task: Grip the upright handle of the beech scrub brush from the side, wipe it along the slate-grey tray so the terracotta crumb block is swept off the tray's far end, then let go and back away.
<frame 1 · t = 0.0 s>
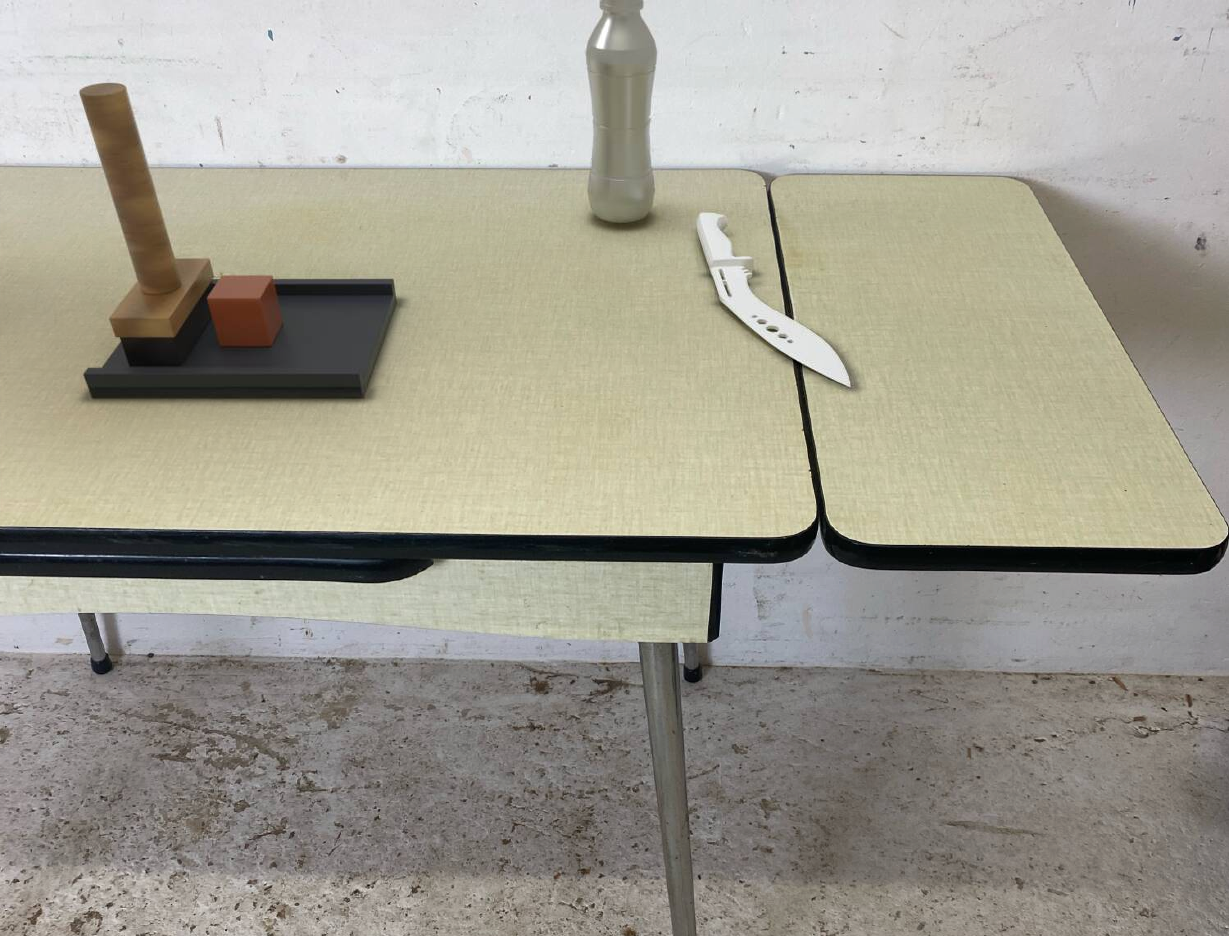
brush: (175, 334, 84), point 1 cm above the table, touching tray
crumb block: (252, 334, 84), point 1 cm above the table, touching tray
tray: (254, 346, 85), on the table
plastic bottle: (621, 219, 104), on the table
knife: (763, 302, 91), on the table
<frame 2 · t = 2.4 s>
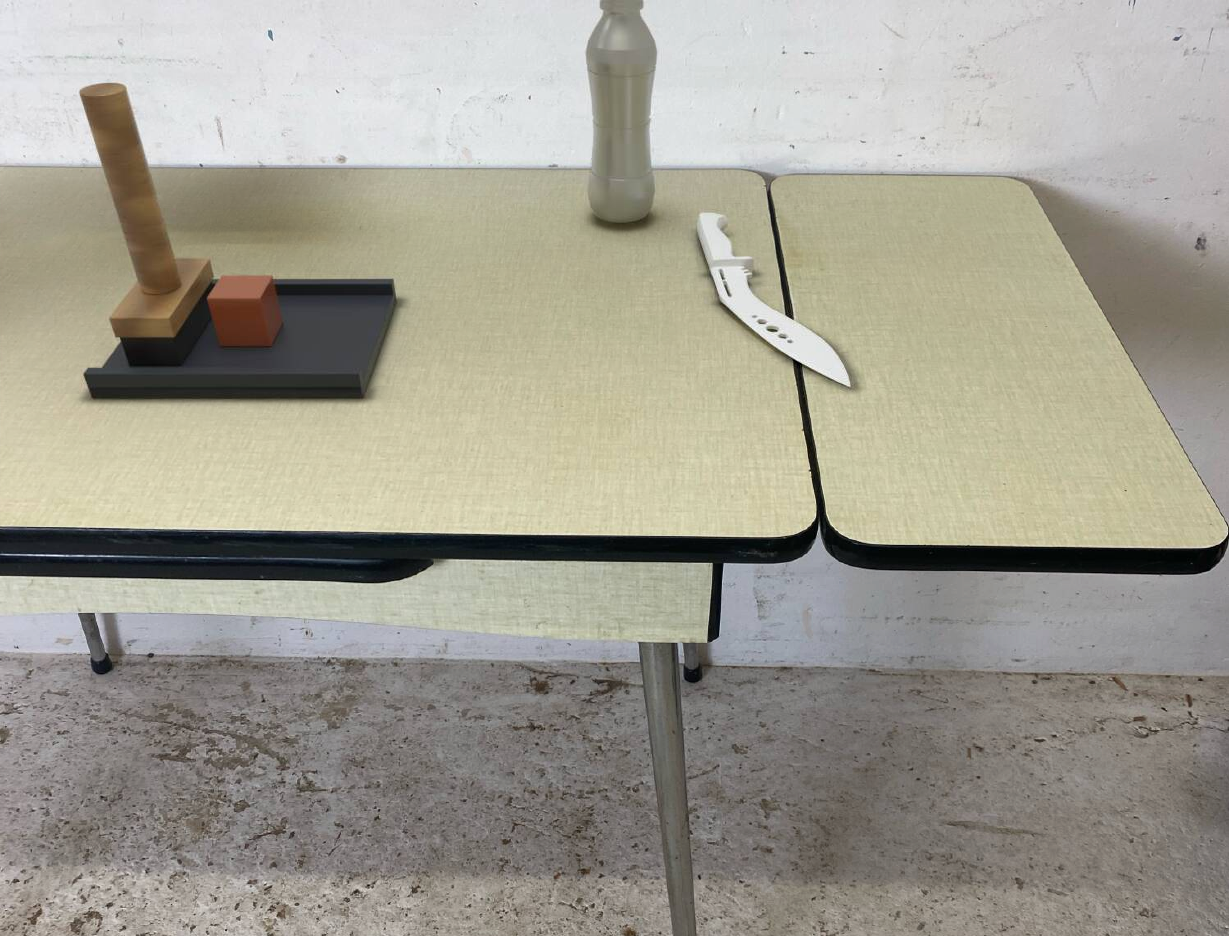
nothing on the table moved.
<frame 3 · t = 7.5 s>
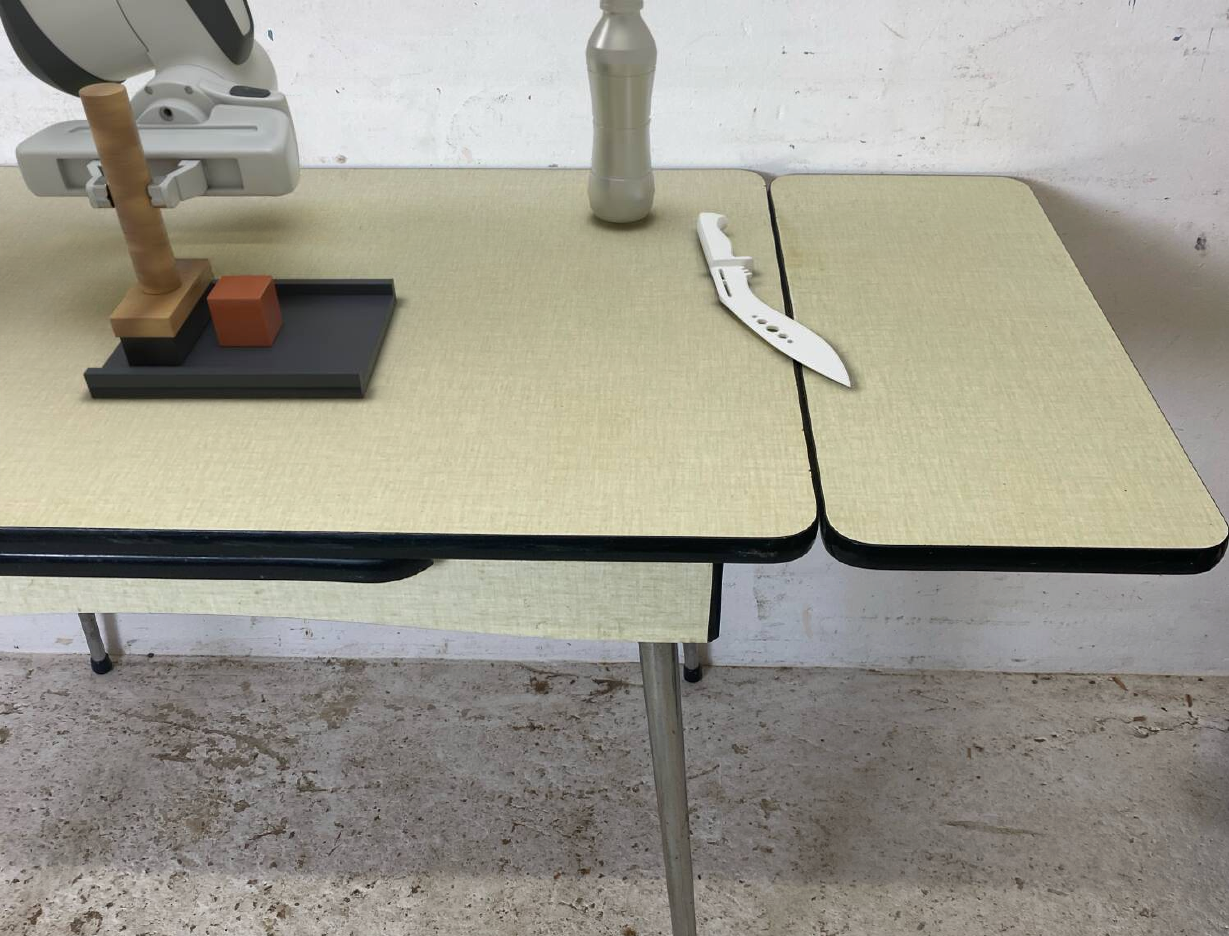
hand: (129, 198, 76), 12 cm above the table, tool horizontal, fingers closed on brush, 3 cm apart
brush: (175, 334, 84), point 1 cm above the table, touching gripper, tray
everything else where it was.
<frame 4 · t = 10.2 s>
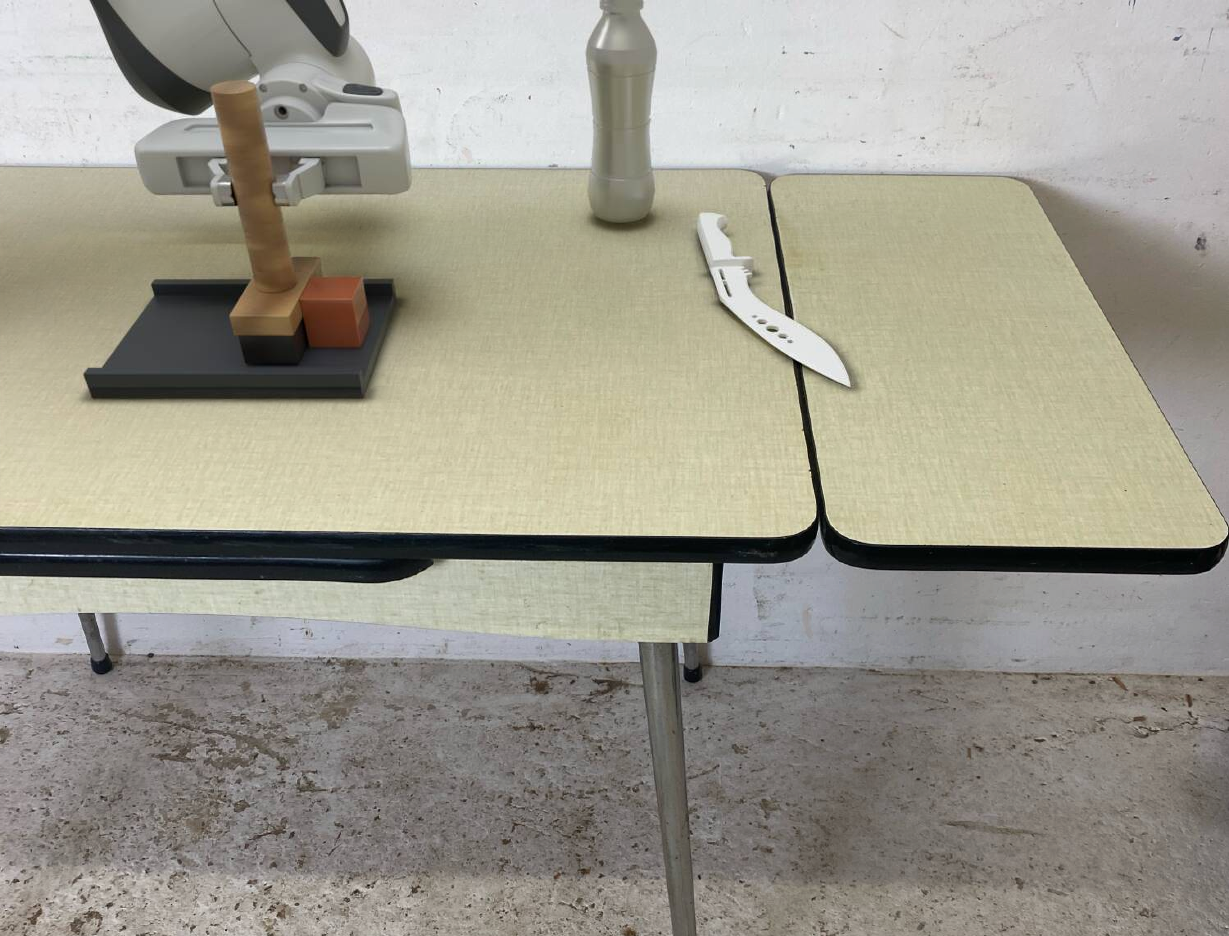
hand: (253, 196, 76), 12 cm above the table, tool horizontal, fingers closed on brush, 3 cm apart
brush: (287, 333, 84), point 1 cm above the table, touching crumb block, gripper
crumb block: (340, 335, 84), point 1 cm above the table, touching brush
everything else where it was.
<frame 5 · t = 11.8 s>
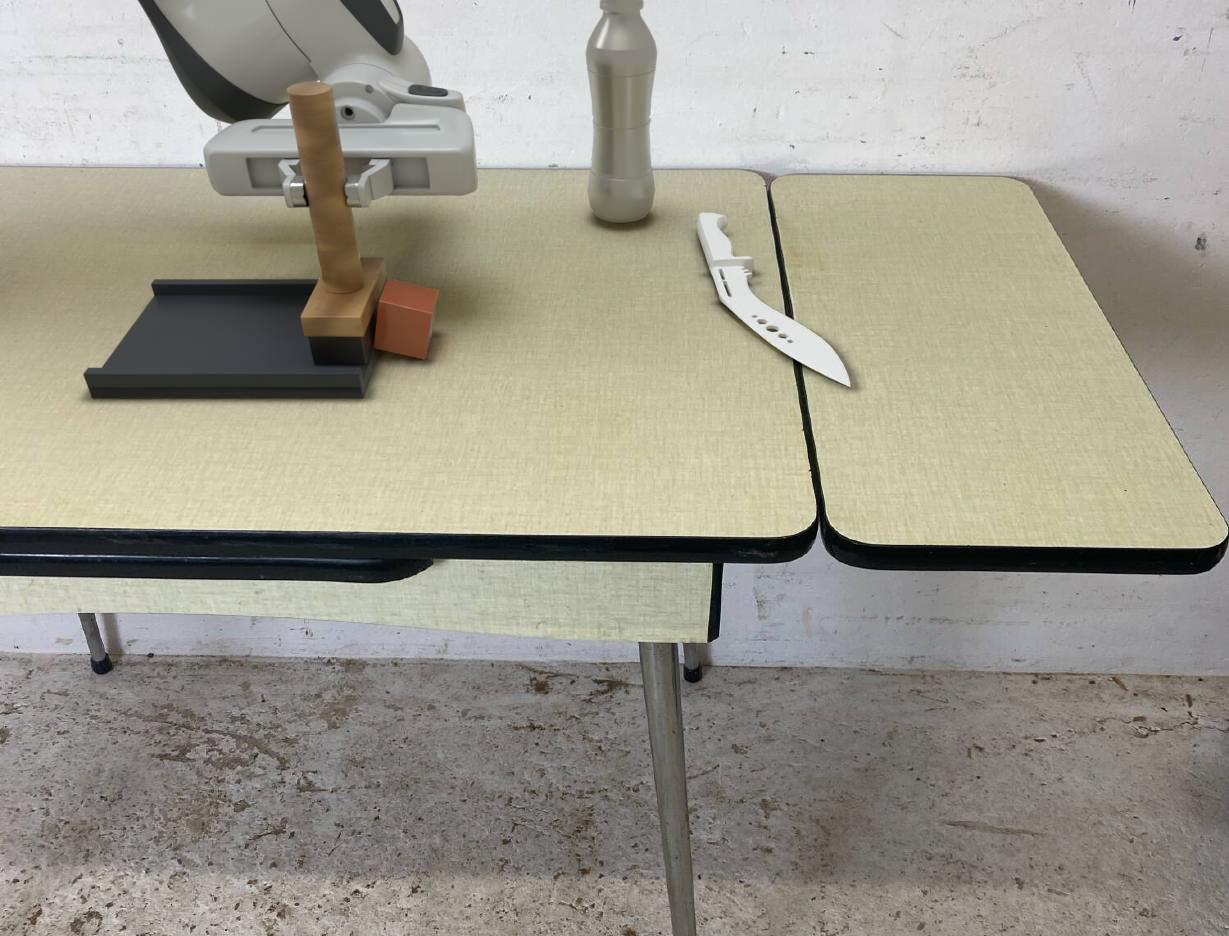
hand: (325, 197, 76), 12 cm above the table, tool horizontal, fingers closed on brush, 3 cm apart
brush: (352, 333, 84), point 1 cm above the table, touching crumb block, gripper, tray
crumb block: (403, 341, 84), point 1 cm above the table, tilted 15°, touching brush, tray
everything else where it was.
when the fingers open (12 cm above the table, at t = 12.1 s): brush stays where it is, resting on tray.
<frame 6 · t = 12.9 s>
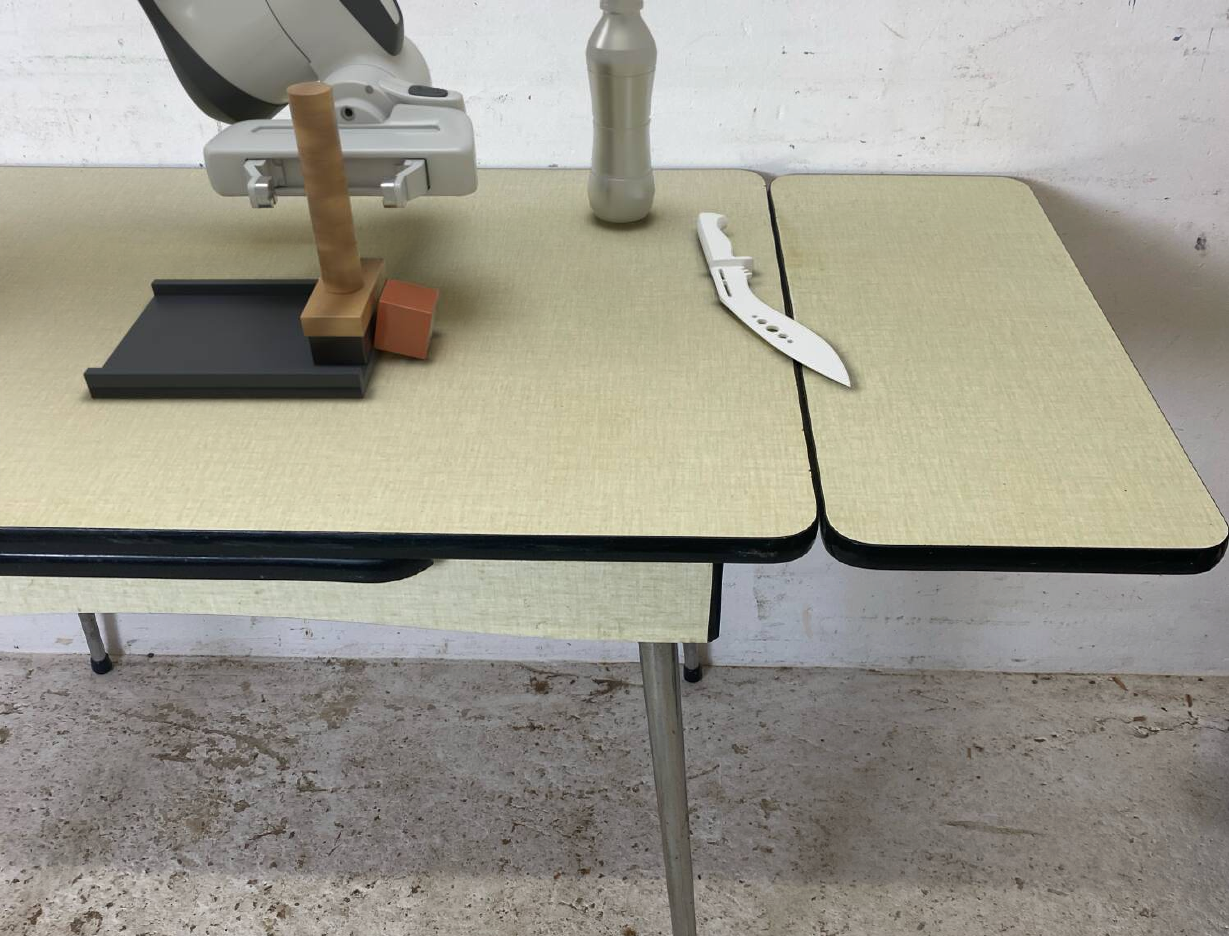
hand: (325, 197, 76), 12 cm above the table, tool horizontal, fingers open, 8 cm apart
brush: (352, 334, 84), point 1 cm above the table, touching tray
crumb block: (403, 341, 84), point 1 cm above the table, tilted 15°, touching tray
everything else where it was.
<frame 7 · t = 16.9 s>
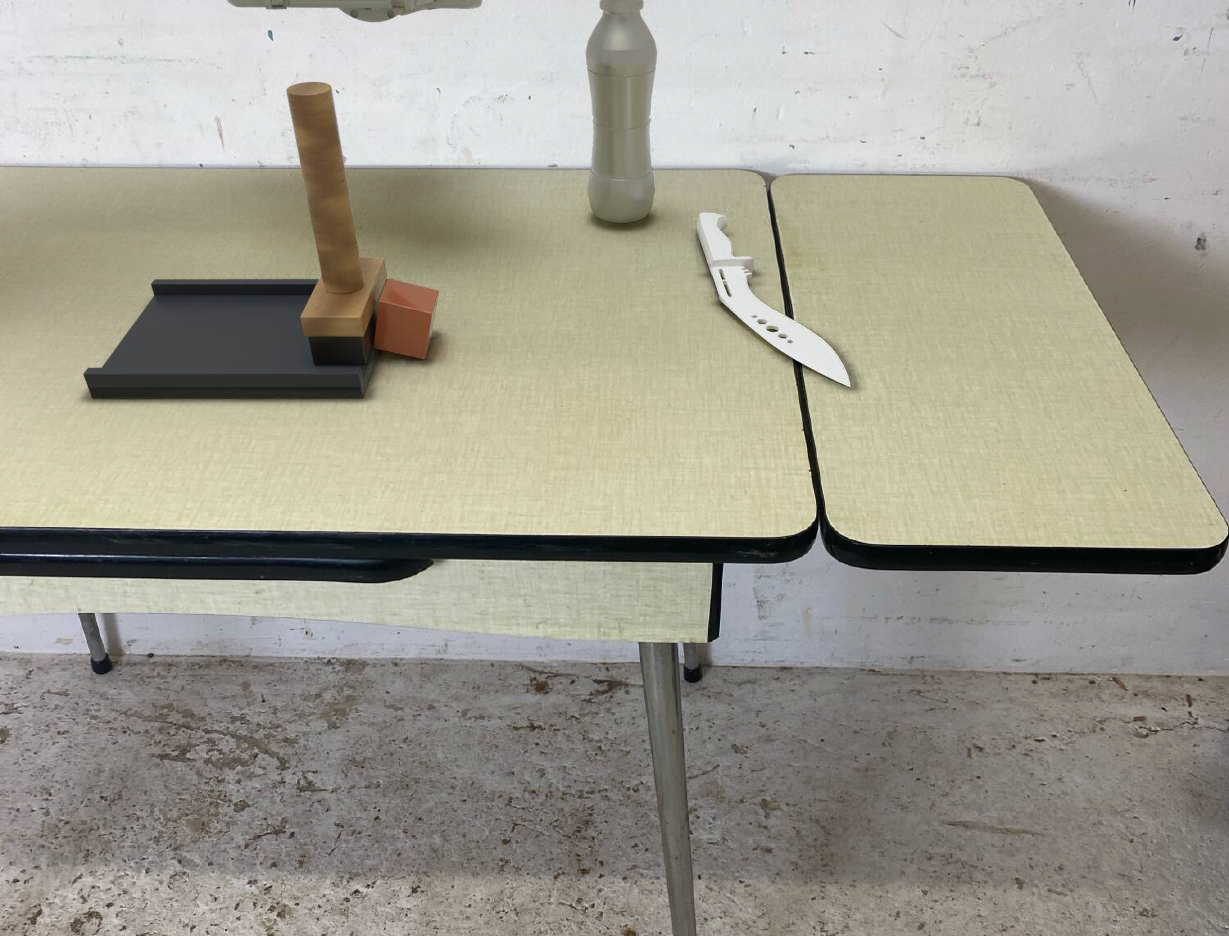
nothing on the table moved.
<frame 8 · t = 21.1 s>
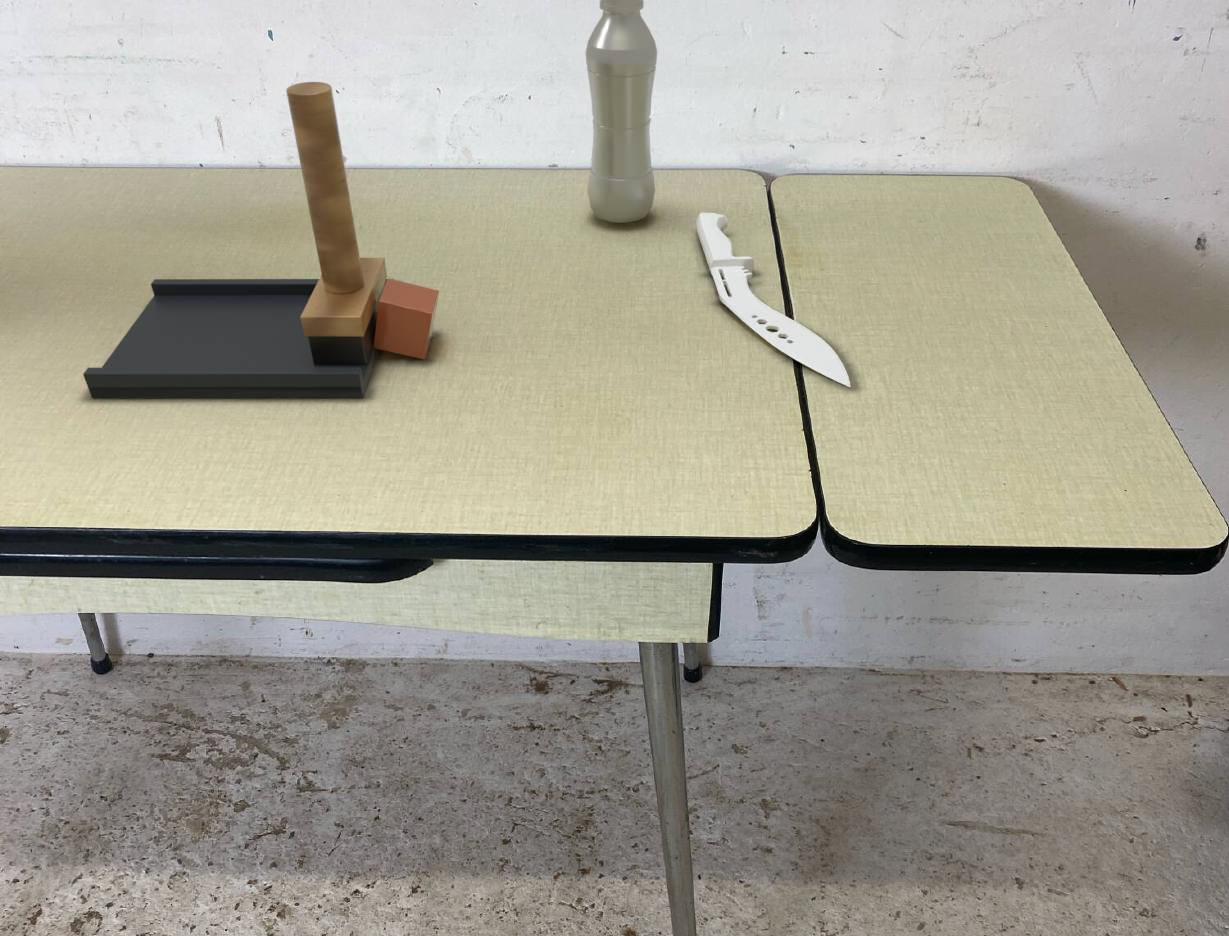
nothing on the table moved.
at the end: crumb block inside the target area (7.0 cm from its centre), point 0.5 cm above the table; brush moved 13.9 cm from its start; brush tilted 0° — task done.
